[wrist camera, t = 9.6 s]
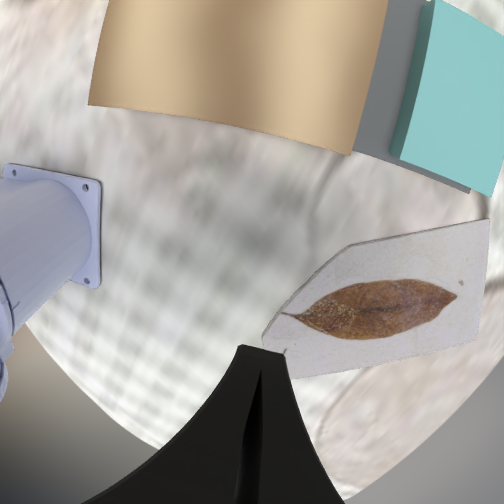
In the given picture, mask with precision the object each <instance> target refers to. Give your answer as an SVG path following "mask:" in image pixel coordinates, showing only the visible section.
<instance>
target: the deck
mask: <svg viewBox="0 0 504 504" xmlns="http://www.w3.org/2000/svg"><path fill="white" fill-rule="evenodd" d="M388 1H389V0H109V3H108V7H107V11H106V14H105V18H104V22H103V26H102V30H101V35H100V39H99V44H98V48H97V53H96V58H95V63H94V69H93V74H92V80H91V86H90V93H89V100H88V105H91V106H103V107H113V108H123V109H132V110H140V111H148V112H155V113H162V114H169V115H176V116H182V117H188V118H194V119H199V120H205V121H210V122H216V123H221V124H226V125H231V126H236V127H240V128H245V129H250V130H254V131H259V132H263V133H267V134H271V135H275V136H280V137H284V138H287V139H291V140H295V141H299V142H303V143H307V144H310V145H314V146H317V147H321V148H324V149H328V150H331V151H335V152H338V153H341V154H345V155H348V156H350V155H351V152H352V148H353V145H354V141H355V138H356V134H357V131H358V127H359V123H360V120H361V116H362V112H363V109H364V105H365V101H366V97H367V93H368V89H369V85H370V81H371V77H372V73H373V69H374V65H375V61H376V57H377V52H378V48H379V43H380V39H381V34H382V30H383V25H384V20H385V16H386V11H387V6H388Z"/></svg>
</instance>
